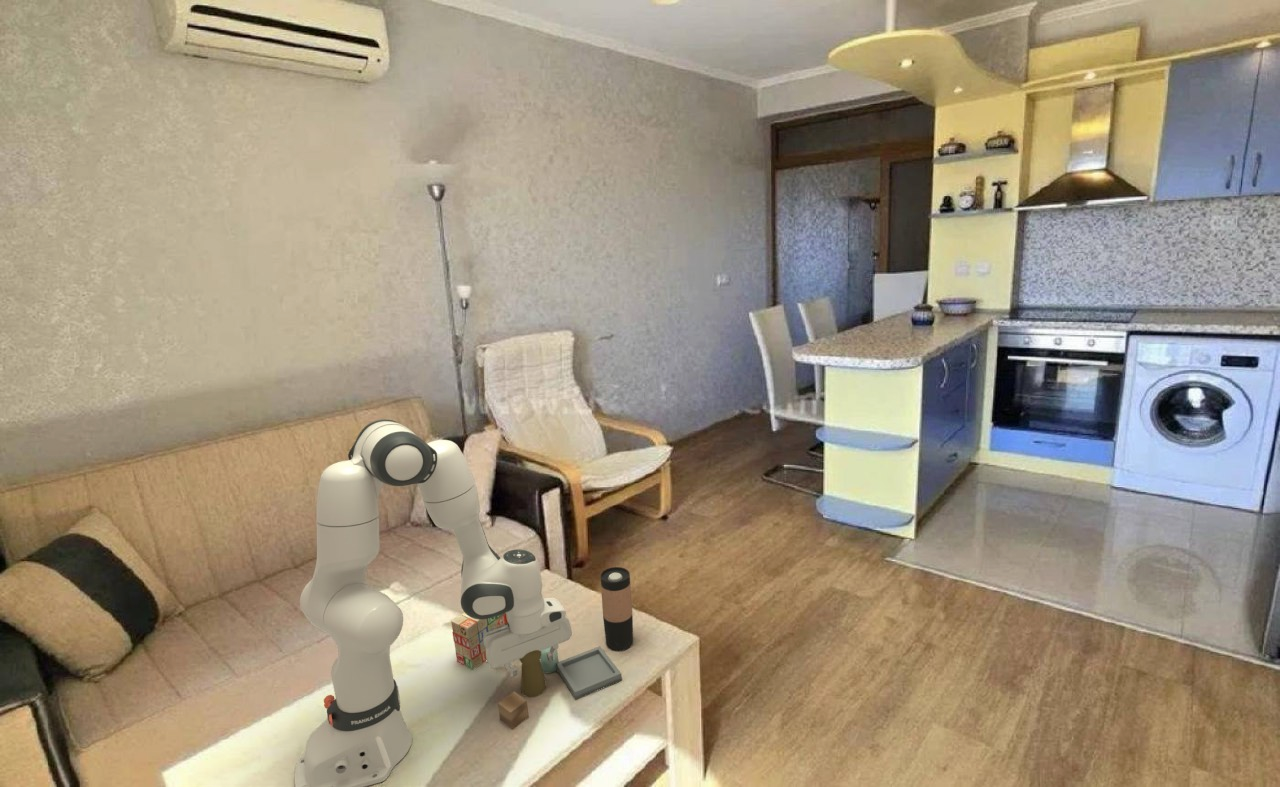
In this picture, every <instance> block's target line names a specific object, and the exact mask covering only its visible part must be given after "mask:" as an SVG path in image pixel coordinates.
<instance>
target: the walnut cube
mask: <svg viewBox="0 0 1280 787" xmlns="http://www.w3.org/2000/svg"><path fill="white" fill-rule="evenodd" d="M497 707H498V708H497V709H498V714H499V721H501V722H502V723H503V724H505V725H506V726H507V727H508V728H510V729H511V730H514V729H515V728H516V727H517V726H519V725H520V724H522V723H523V722H524V721H526V720H527V719H529V709H528V700H527V699H525V698H524V697H522V696H521V695H519V694H518V693H517V692H515V691H513V692H512V693H510V694H509V695H507V696H506V697H505V698H503V699H502V700H500V701H499V702H497Z"/></svg>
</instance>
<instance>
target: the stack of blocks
mask: <svg viewBox="0 0 1280 787" xmlns="http://www.w3.org/2000/svg"><path fill="white" fill-rule="evenodd" d="M506 623H507V616H506V613H504V614H501V615H498V616H495V617H492V618H488V619H474V618H472V617H470V616H468V615H467V614H466V613H465V612H463V613H461V614H460V615H458V616H456V617H455V618H453V619H452V620H451V628H452V638H453V643H454V649H455V655H456V662H457V663H459V664H460V665H462V666H464V667H467V668H468V669H470V670H472V671H474V670H476V669H477V668H478V667H479V666H481V665H483V664H484V663H485V662H487V661H486V647H485V646H484V642H483V637H484V635H485V634H486V633H487V632H489V630H490V629H492V628H496V627H499V626H500V625H503V624H506Z"/></svg>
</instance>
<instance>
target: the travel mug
mask: <svg viewBox="0 0 1280 787" xmlns="http://www.w3.org/2000/svg"><path fill="white" fill-rule="evenodd" d="M600 587H601V590H600V591H601V607H602V617H603V618H602V619H603V627H604V628H603V629H604V630H603V631H604V637H605V645H606V647H607V648H608V650H610V651H613V652H622V651H623V652H624V651H627V650H628V649H630V648H631V647H632V646H633V643H634V627H633V626H634V625H633V622H634V621H633V616H634V615H633V603H632V589H631V575H630V571H629V570H628V569H626V568H624V567H622V566H614V567H609V568H606V569H604V570H603V571H602V572H601V573H600Z"/></svg>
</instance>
